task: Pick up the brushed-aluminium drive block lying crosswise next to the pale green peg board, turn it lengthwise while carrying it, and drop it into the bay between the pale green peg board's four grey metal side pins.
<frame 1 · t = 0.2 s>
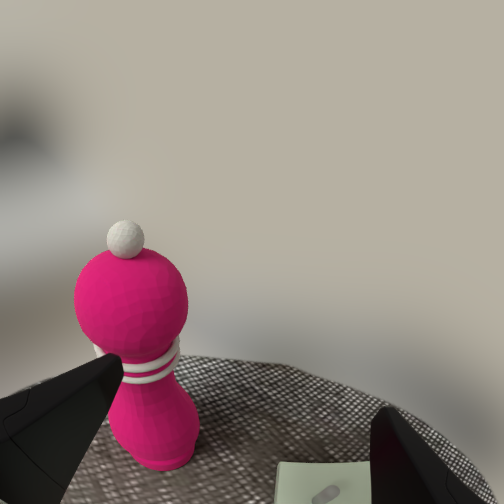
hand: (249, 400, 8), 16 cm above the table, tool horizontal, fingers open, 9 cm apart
pepper mill: (160, 443, 19), on the table
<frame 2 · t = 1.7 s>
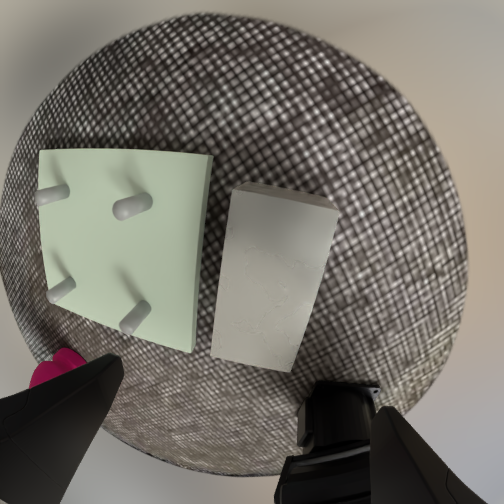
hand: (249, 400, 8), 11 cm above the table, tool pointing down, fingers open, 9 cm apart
drive: (272, 261, 18), on the table
pale green peg board: (109, 243, 20), on the table
pepper mill: (77, 365, 27), on the table
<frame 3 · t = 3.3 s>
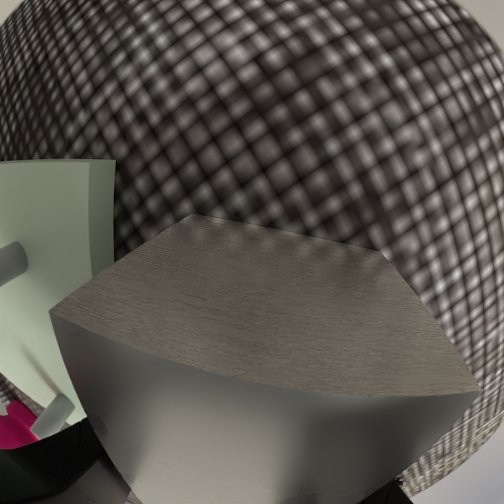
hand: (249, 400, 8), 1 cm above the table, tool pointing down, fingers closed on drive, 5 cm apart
drive: (254, 374, 8), on the table, touching gripper
pale green peg board: (13, 305, 10), on the table
pepper mill: (34, 419, 17), on the table
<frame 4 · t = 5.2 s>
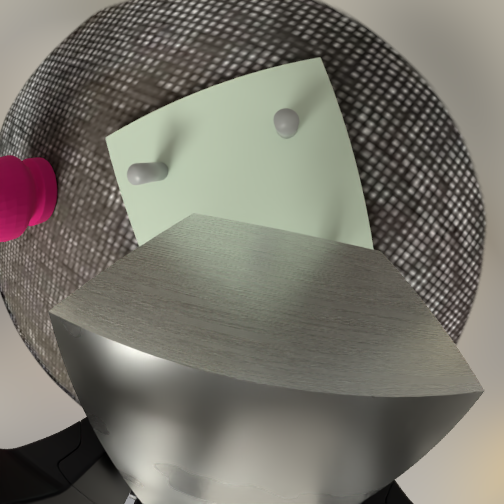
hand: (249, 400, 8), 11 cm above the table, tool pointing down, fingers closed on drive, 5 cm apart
drive: (255, 374, 8), point 10 cm above the table, touching gripper
pale green peg board: (242, 208, 17), on the table
pepper mill: (40, 189, 19), on the table
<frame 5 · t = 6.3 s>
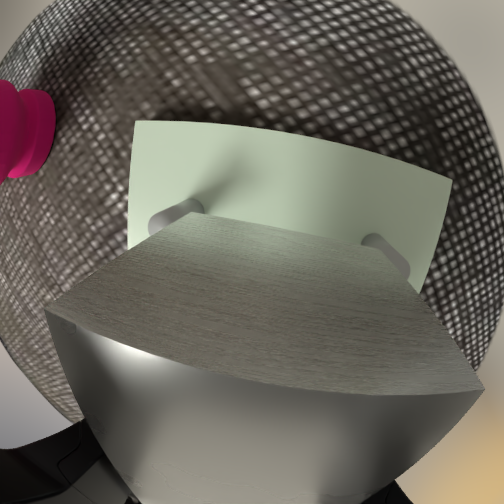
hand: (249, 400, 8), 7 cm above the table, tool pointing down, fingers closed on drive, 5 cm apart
drive: (254, 374, 8), point 6 cm above the table, touching gripper
pale green peg board: (269, 296, 14), on the table
pepper mill: (33, 132, 13), on the table
when the fingers open (4 cm above the table, at t = 7.3 s): drive drops 1 cm, resting on pale green peg board.
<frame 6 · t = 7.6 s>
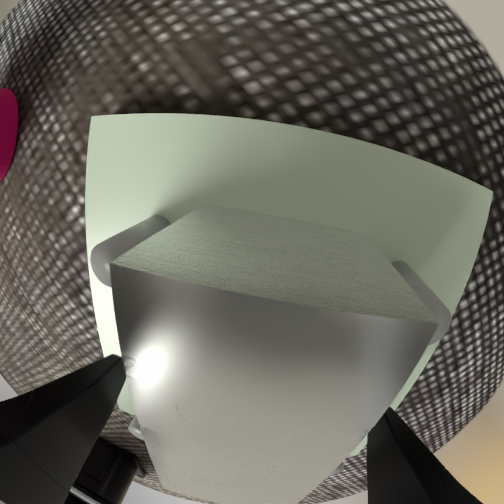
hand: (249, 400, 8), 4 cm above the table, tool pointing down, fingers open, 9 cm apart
drive: (259, 347, 10), point 1 cm above the table, touching pale green peg board
pale green peg board: (262, 333, 11), on the table
pepper mill: (0, 135, 10), on the table
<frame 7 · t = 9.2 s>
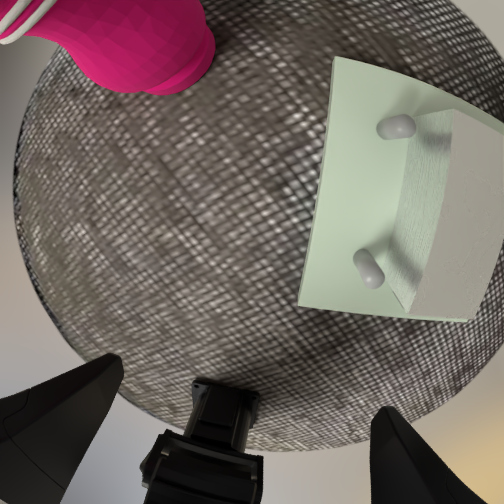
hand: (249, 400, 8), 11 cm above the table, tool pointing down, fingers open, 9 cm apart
drive: (432, 205, 14), point 1 cm above the table, touching pale green peg board
pale green peg board: (423, 205, 15), on the table
pepper mill: (173, 55, 14), on the table
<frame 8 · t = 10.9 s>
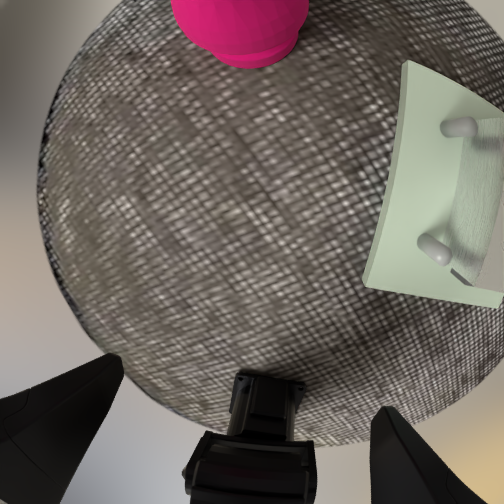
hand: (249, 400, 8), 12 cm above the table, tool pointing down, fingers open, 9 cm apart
drive: (478, 198, 14), point 1 cm above the table, touching pale green peg board
pale green peg board: (469, 198, 15), on the table
pepper mill: (252, 33, 14), on the table
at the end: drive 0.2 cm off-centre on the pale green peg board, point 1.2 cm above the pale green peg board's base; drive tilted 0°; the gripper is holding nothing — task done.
